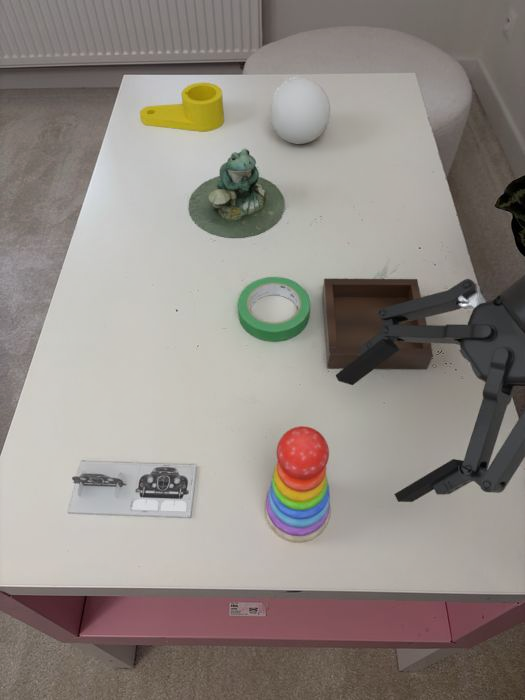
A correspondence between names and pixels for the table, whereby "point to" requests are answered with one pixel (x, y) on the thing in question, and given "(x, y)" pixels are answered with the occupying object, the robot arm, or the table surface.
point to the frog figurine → (237, 200)
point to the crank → (189, 110)
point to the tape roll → (274, 329)
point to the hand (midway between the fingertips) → (371, 435)
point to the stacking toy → (299, 486)
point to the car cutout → (133, 489)
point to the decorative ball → (299, 110)
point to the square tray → (368, 320)
